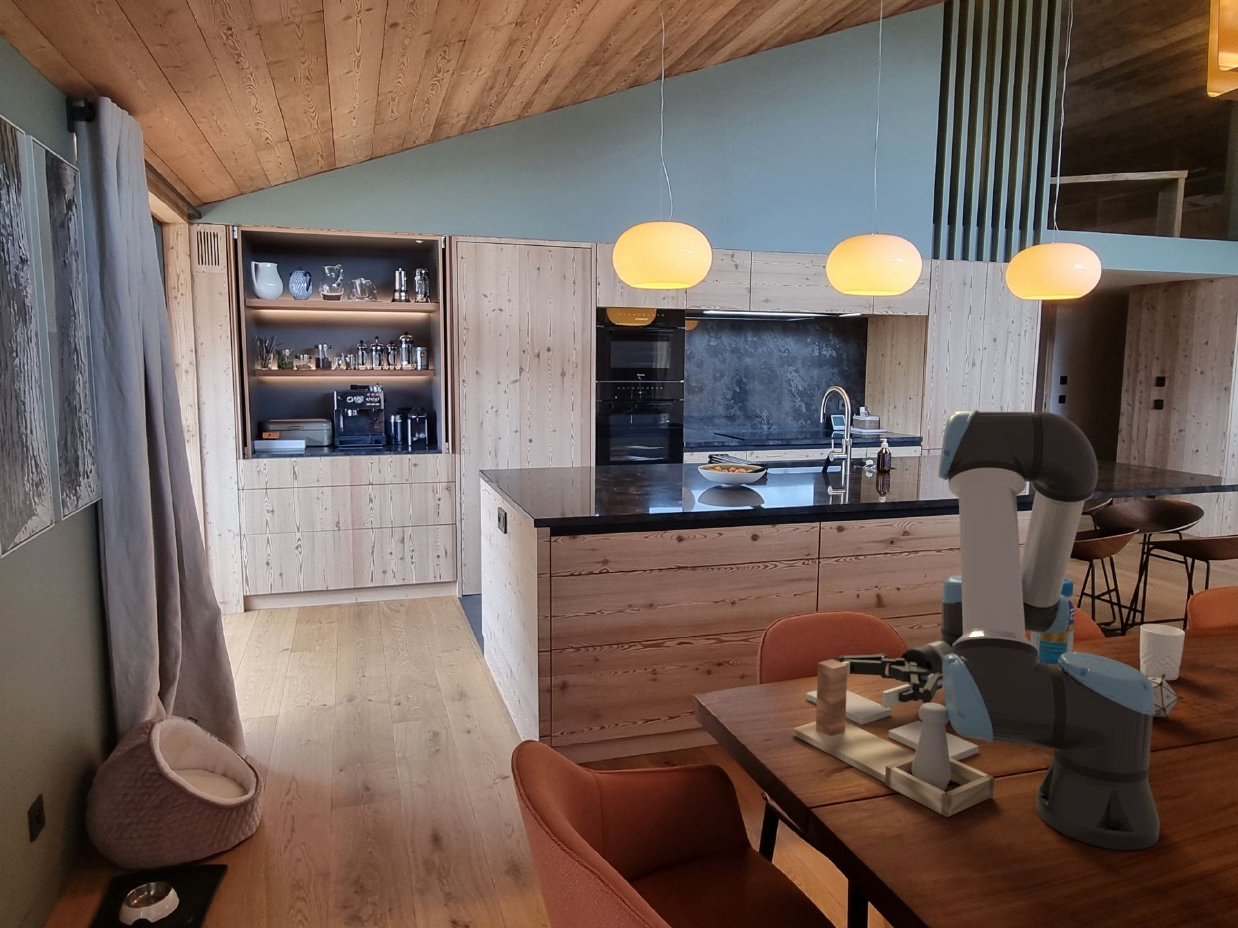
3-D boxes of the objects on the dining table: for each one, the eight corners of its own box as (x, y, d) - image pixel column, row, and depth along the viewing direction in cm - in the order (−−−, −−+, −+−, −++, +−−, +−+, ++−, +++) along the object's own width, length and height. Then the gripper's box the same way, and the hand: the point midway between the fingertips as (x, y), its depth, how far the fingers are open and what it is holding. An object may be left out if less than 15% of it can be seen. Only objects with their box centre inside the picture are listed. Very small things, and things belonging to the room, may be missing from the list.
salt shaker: (909, 791, 125) (913, 709, 124) (910, 775, 130) (914, 696, 129) (951, 798, 123) (955, 715, 122) (950, 781, 128) (954, 701, 127)
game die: (1159, 740, 152) (1180, 712, 145) (1110, 713, 156) (1129, 685, 149) (1174, 706, 156) (1196, 678, 149) (1127, 681, 161) (1145, 652, 154)
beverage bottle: (1019, 665, 180) (1024, 576, 178) (1049, 661, 183) (1055, 573, 181) (1049, 678, 172) (1055, 585, 170) (1081, 674, 175) (1087, 582, 173)
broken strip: (978, 752, 138) (978, 745, 138) (948, 764, 134) (948, 757, 134) (834, 690, 165) (834, 684, 165) (805, 698, 161) (806, 693, 161)
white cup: (1128, 671, 177) (1132, 626, 176) (1151, 666, 180) (1155, 621, 179) (1166, 683, 170) (1169, 637, 169) (1189, 678, 173) (1193, 632, 172)
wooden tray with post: (993, 796, 123) (997, 712, 122) (946, 816, 118) (951, 728, 116) (835, 721, 150) (837, 651, 148) (790, 735, 144) (792, 662, 143)
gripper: (987, 705, 147) (910, 733, 136) (875, 664, 168) (801, 685, 157) (989, 665, 146) (912, 689, 135) (877, 628, 167) (802, 646, 156)
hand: (852, 687), depth 146 cm, fingers open, 13 cm apart
